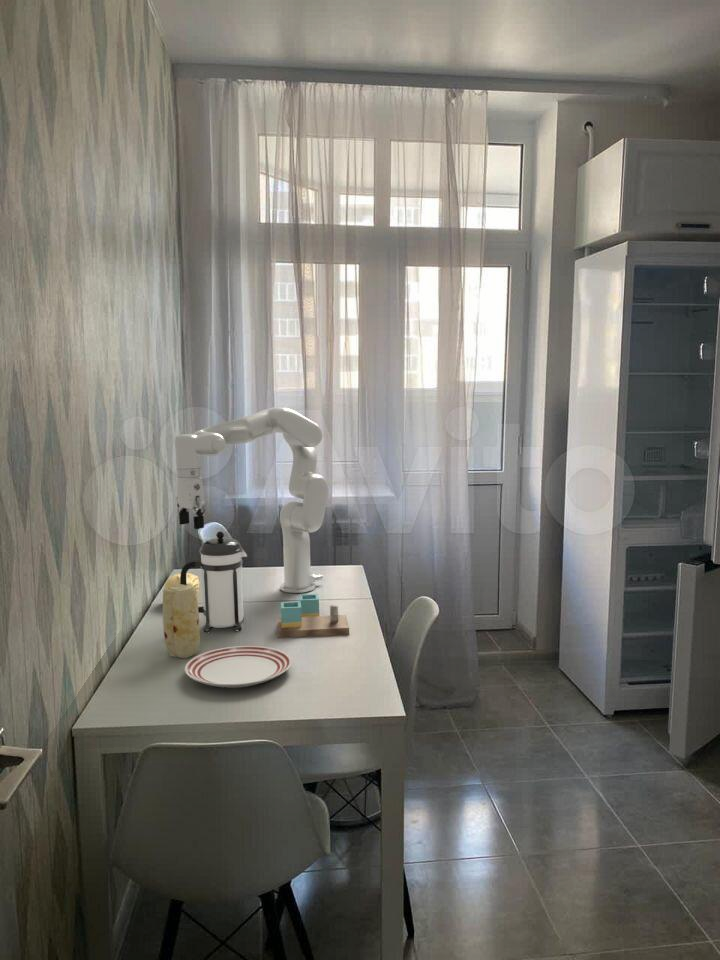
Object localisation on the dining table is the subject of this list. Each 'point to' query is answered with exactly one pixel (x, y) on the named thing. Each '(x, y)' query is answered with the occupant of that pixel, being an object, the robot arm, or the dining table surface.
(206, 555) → the coffee press
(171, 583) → the sculpture
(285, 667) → the dinner plate
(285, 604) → the seated sleeve
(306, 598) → the sleeve
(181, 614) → the food model
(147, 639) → the dining table surface
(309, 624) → the pin board
